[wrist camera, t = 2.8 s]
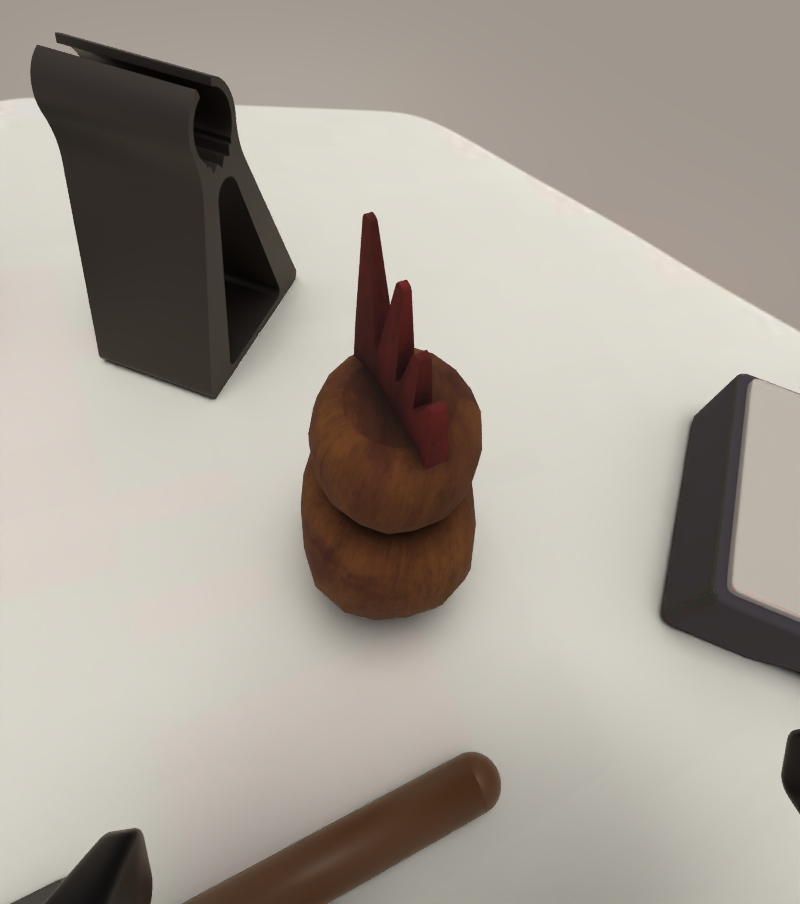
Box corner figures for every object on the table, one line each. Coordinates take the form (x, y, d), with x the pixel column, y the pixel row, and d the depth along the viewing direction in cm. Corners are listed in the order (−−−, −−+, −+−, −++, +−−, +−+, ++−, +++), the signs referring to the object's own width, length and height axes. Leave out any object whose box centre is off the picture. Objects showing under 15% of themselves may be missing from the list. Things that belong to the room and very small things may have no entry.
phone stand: (199, 244, 32) (124, -15, 21) (297, 277, 31) (268, 24, 21) (101, 361, 27) (-53, 104, 17) (213, 401, 27) (122, 159, 16)
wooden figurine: (309, 486, 25) (258, 162, 12) (440, 479, 25) (528, 163, 12) (312, 647, 21) (244, 442, 8) (463, 634, 22) (614, 425, 9)
